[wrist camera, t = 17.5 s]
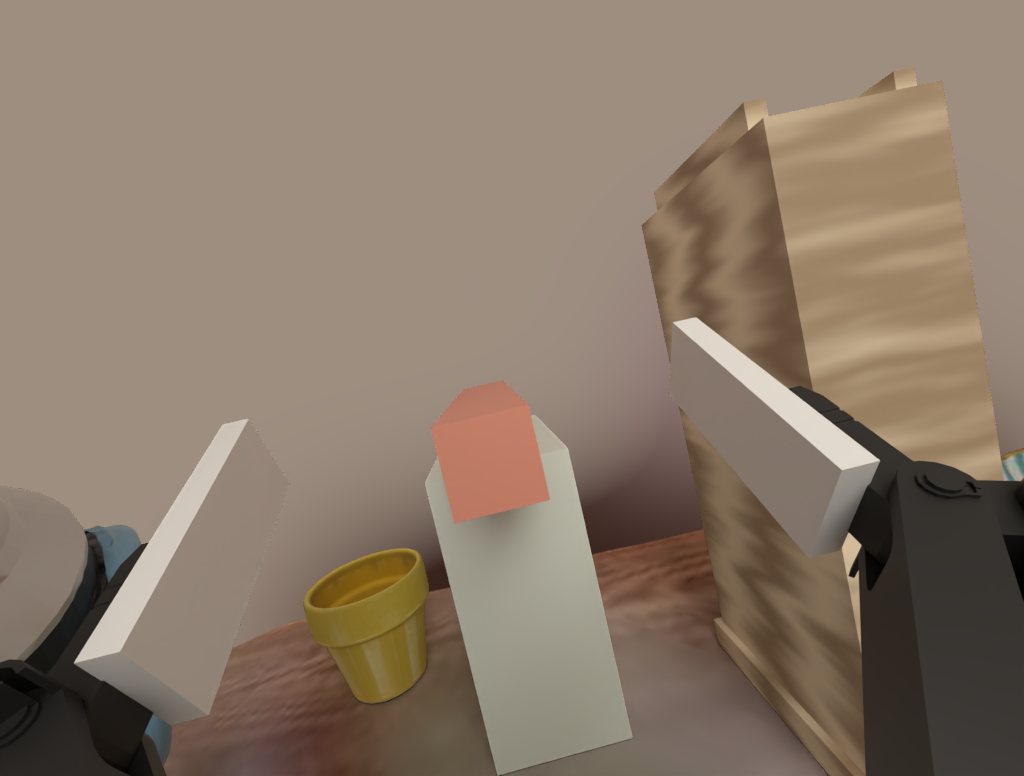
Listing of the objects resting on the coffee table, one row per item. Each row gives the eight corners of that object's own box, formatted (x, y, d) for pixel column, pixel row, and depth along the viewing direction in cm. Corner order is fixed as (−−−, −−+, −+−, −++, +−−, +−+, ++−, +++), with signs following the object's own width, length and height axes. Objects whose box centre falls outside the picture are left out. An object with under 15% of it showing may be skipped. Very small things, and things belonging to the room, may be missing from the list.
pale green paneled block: (632, 738, 28) (567, 444, 27) (497, 775, 28) (423, 479, 26) (575, 592, 46) (534, 412, 45) (492, 614, 46) (448, 432, 44)
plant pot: (337, 663, 43) (312, 571, 43) (439, 624, 46) (417, 536, 46) (323, 746, 33) (290, 626, 33) (454, 689, 36) (426, 578, 36)
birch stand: (1076, 799, 20) (961, 40, 18) (894, 853, 20) (753, 82, 17) (824, 614, 35) (744, 187, 33) (718, 642, 35) (629, 212, 32)
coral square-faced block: (550, 500, 18) (528, 404, 18) (454, 523, 18) (430, 427, 17) (511, 419, 44) (502, 380, 43) (472, 428, 44) (463, 389, 43)
